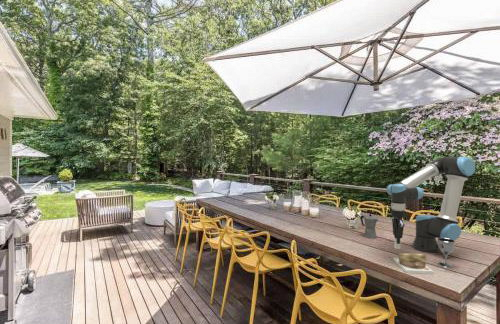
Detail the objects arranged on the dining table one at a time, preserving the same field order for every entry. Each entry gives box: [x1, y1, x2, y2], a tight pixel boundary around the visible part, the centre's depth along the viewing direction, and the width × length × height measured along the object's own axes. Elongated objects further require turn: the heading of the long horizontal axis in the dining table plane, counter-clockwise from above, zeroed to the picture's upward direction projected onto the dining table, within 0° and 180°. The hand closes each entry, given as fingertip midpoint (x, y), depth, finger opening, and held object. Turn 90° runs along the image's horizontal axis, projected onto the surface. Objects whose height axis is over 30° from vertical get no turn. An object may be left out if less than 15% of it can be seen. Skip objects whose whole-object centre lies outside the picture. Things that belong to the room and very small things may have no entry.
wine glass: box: [437, 238, 456, 269], centre depth 160 cm, size 8×8×15 cm
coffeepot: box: [359, 213, 379, 239], centre depth 216 cm, size 15×9×18 cm, turn 33°
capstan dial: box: [398, 251, 427, 268], centre depth 158 cm, size 14×13×6 cm
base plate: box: [393, 257, 434, 275], centre depth 159 cm, size 14×18×2 cm
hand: (397, 248), depth 166 cm, fingers closed
